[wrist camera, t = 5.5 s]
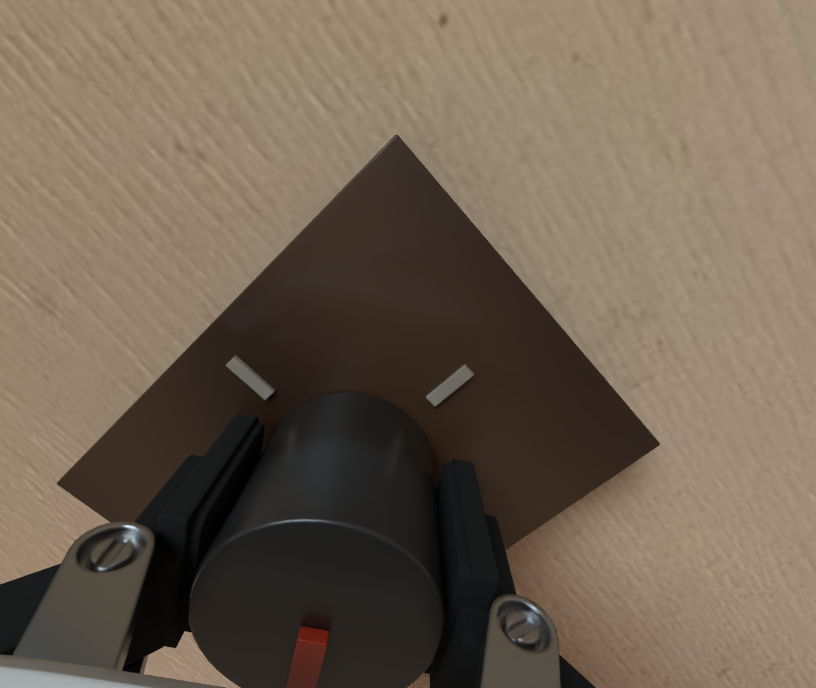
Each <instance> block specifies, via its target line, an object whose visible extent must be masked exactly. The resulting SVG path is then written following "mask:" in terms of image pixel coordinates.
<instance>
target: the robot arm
mask: <svg viewBox="0 0 816 688" xmlns="http://www.w3.org/2000/svg"><path fill="white" fill-rule="evenodd" d="M264 429H265V425H264V424H261V423H259V418H258V417H254V416H249V415H244V414H240V413H237V414H236V415H235V416H234V417H233V419H232V420H231V421H230V423H229V424H228V425H227V426H226V428H225V429H224V430H223V432H222V433H221V434H220V436H219V437H218V438H217V439H216V441H215V442H214V443H213V445H212V446H211V447H210V448H209V450H208V451H207V452H206V454H205V455H204V456H203V457H201V456H196V455H190V456H189V457H187V458H186V459H185V461H184V462H183V463H182V464H181V465H180V467H179V468H178V469H177V470H176V472H175V473H174V474H173V475H172V476H171V478H170V479H169V480H168V481H167V482H166V484H165V485H164V486H163V487H162V488H161V490H160V491H159V492H158V493H157V494H156V496H155V497H154V498H153V499H152V500H151V502H150V503H149V504H148V505H147V506H146V508H145V509H144V510H143V511H142V513H141V514H140V515H139V516H138V517H137V519H136V520H135V521H134V522H128V521H120V522H111V523H107V524H104V525H101V526H97V527H95V528H93V529H91V530H89V531H87V532H86V533H84V534H83V535H82V536H80V537H79V538H78V539H77V540H75V542H74V543H73V544H72V546H71V547H70V548H69V550H68V552H67V554H66V555H65V557H64V559H63V561H62V563H61V564H58V565H55V566H53V567H50V568H47V569H44V570H41V571H38V572H35V573H32V574H29V575H27V576H24V577H21V578H18V579H15V580H12V581H9V582H6V583H3V584H0V688H225V687H219V686H213V685H206V684H200V683H194V682H188V681H182V680H175V679H169V678H163V677H157V676H150V675H144V670H145V666H146V662H147V658H148V655H149V654H151V653H153V652H154V651H156V650H158V649H160V648H162V647H164V646H167V647H172V648H176V647H177V645H178V643H179V641H180V639H181V637H182V635H183V633H184V631H187V632H192V631H191V628H190V625H189V620H188V613H187V607H188V593H189V589H190V584H191V582H192V579H193V577H194V574H195V572H196V570H197V568H198V566H199V565H200V563H201V561H202V559H203V558H204V556H205V554H206V552H207V550H208V549H209V547H210V545H211V543H212V542H213V540H214V538H215V536H216V534H217V533H218V531H219V529H220V527H221V526H222V524H223V522H224V520H225V518H226V517H227V515H228V513H229V511H230V510H231V508H232V506H233V504H234V502H235V501H236V499H237V497H238V495H239V493H240V492H241V490H242V488H243V486H244V485H245V483H246V481H247V479H248V477H249V476H250V474H251V472H252V470H253V469H254V467H255V465H256V463H257V461H258V460H259V458H260V456H261V450H262V443H263V436H264ZM436 503H437V515H438V528H439V541H440V554H441V567H442V580H443V593H444V605H445V619H446V622H445V631H444V636H443V639H442V643H441V646H440V648H439V650H438V652H437V654H436V656H435V658H434V660H433V661H432V663H431V664H430V666H429V667H428V668H427V670H426V671H425V672H424V673H427V674H430V688H595V687H594V686H593V685H592V684H591V683H590V682H589V681H588V680H587V679H586V678H584V677H583V676H582V675H581V674H580V673H579V672H578V671H577V670H576V669H575V668H574V667H573V666H571V665H570V664H569V663H568V662H567V661H566V660H565V659H564V658H563V657H562V656H561V655H559V641H558V635H557V630H556V628H555V626H554V624H553V622H552V620H551V618H550V617H549V616H548V615H547V613H546V612H545V611H544V610H543V609H542V608H541V607H540V606H538V605H537V604H536V603H535V602H533V601H531V600H529V599H527V598H526V597H523V596H519V595H516V591H515V587H514V583H513V579H512V575H511V571H510V568H509V564H508V560H507V556H506V552H505V548H504V544H503V540H502V536H501V532H500V528H499V524H498V521H497V518H496V517H495V516H494V515H489V514H485V512H484V507H483V503H482V498H481V494H480V489H479V485H478V480H477V476H476V471H475V467H474V463H473V462H469V461H464V460H459V459H453V460H452V461H451V463H448V462H445V464H444V466H443V469H442V472H441V475H440V479H439V482H438V485H437V488H436Z"/></svg>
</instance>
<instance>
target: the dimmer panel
mask: <svg viewBox="0 0 816 688" xmlns="http://www.w3.org/2000/svg"><path fill="white" fill-rule="evenodd" d="M342 392H351V393H361V394H367V395H371V396H375V397H378V398H381V399H383V400H385V401H388V402H390V403H392V404H393V405H395V406H397V407H399V408H400V409H401V410H403V411H404V412H405V413H407V414H408V415H409V416H410V417H411V418H412V419H413V420H414V421H415V422H416V423H417V424H418V426H419V427H420V428H421V429H422V431H423V433H424V434H425V436H426V438H427V440H428V442H429V445H430V447H431V451H432V455H433V464H434V477H435V490H436V488H437V485H438V482H439V479H440V475H441V472H442V469H443V466H444V464H445V462H448V463H451V461H452V460H453V459H459V460H464V461H469V462H473V463H474V467H475V471H476V476H477V480H478V485H479V489H480V494H481V498H482V503H483V507H484V512H485V514H489V515H494V516H495V517H496V518H497V521H498V524H499V528H500V532H501V536H502V540H503V544H504V548H505V550H506V549H507V548H509V547H510V546H512V545H513V544H514V543H516V542H517V541H519V540H520V539H522V538H523V537H525V536H526V535H528V534H529V533H531V532H532V531H534V530H535V529H537V528H538V527H540V526H541V525H542V524H544V523H545V522H547V521H548V520H550V519H551V518H553V517H554V516H556V515H557V514H559V513H560V512H562V511H563V510H565V509H566V508H568V507H569V506H570V505H572V504H573V503H575V502H576V501H578V500H579V499H581V498H582V497H584V496H585V495H587V494H588V493H590V492H591V491H593V490H594V489H596V488H597V487H598V486H600V485H601V484H603V483H604V482H606V481H607V480H609V479H610V478H612V477H613V476H615V475H616V474H618V473H619V472H621V471H622V470H624V469H625V468H626V467H628V466H629V465H631V464H632V463H634V462H635V461H637V460H638V459H640V458H641V457H643V456H644V455H646V454H647V453H649V452H650V451H652V450H653V449H655V448H656V447H657V446H659V445H660V443H659V442H658V441H657V439H656V438H655V437H654V436H653V435H652V433H651V432H650V431H649V430H648V429H647V428H646V426H645V425H644V424H643V423H642V422H641V421H640V419H639V418H638V417H637V416H636V415H635V413H634V412H633V411H632V410H631V409H630V408H629V406H628V405H627V404H626V403H625V402H624V401H623V399H622V398H621V397H620V396H619V395H618V393H617V392H616V391H615V390H614V389H613V388H612V386H611V385H610V384H609V383H608V382H607V381H606V379H605V378H604V377H603V376H602V375H601V373H600V372H599V371H598V370H597V369H596V368H595V366H594V365H593V364H592V363H591V362H590V361H589V359H588V358H587V357H586V356H585V355H584V353H583V352H582V351H581V350H580V349H579V348H578V346H577V345H576V344H575V343H574V342H573V341H572V339H571V338H570V337H569V336H568V335H567V333H566V332H565V331H564V330H563V329H562V328H561V326H560V325H559V324H558V323H557V322H556V321H555V319H554V318H553V317H552V316H551V315H550V313H549V312H548V311H547V310H546V309H545V308H544V306H543V305H542V304H541V303H540V302H539V301H538V299H537V298H536V297H535V296H534V295H533V293H532V292H531V291H530V290H529V289H528V288H527V286H526V285H525V284H524V283H523V282H522V281H521V279H520V278H519V277H518V276H517V275H516V273H515V272H514V271H513V270H512V269H511V268H510V266H509V265H508V264H507V263H506V262H505V261H504V259H503V258H502V257H501V256H500V255H499V253H498V252H497V251H496V250H495V249H494V248H493V246H492V245H491V244H490V243H489V242H488V241H487V239H486V238H485V237H484V236H483V235H482V233H481V232H480V231H479V230H478V229H477V228H476V226H475V225H474V224H473V223H472V222H471V221H470V219H469V218H468V217H467V216H466V215H465V213H464V212H463V211H462V210H461V209H460V208H459V206H458V205H457V204H456V203H455V202H454V201H453V199H452V198H451V197H450V196H449V195H448V193H447V192H446V191H445V190H444V189H443V188H442V186H441V185H440V184H439V183H438V182H437V181H436V179H435V178H434V177H433V176H432V175H431V173H430V172H429V171H428V170H427V169H426V168H425V166H424V165H423V164H422V163H421V162H420V161H419V159H418V158H417V157H416V156H415V155H414V153H413V152H412V151H411V150H410V149H409V148H408V146H407V145H406V144H405V143H404V142H403V141H402V139H401V138H400V137H399V136H398V135H395V136H394V137H393V138H392V139H391V140H390V141H389V142H388V143H387V144H386V145H385V146H384V147H383V148H382V149H381V150H380V151H379V152H378V153H377V154H376V155H375V156H374V157H373V158H372V160H371V161H370V162H369V163H368V164H367V165H366V166H365V167H364V168H363V169H362V170H361V171H360V172H359V173H358V174H357V175H356V176H355V177H354V178H353V179H352V180H351V181H350V182H349V183H348V184H347V185H346V186H345V187H344V188H343V189H342V190H341V191H340V192H339V193H338V194H337V195H336V197H335V198H334V199H333V200H332V201H331V202H330V203H329V204H328V205H327V206H326V207H325V208H324V209H323V210H322V211H321V212H320V213H319V214H318V215H317V216H316V217H315V218H314V219H313V220H312V221H311V222H310V223H309V224H308V225H307V226H306V227H305V228H304V229H303V230H302V231H301V232H300V233H299V235H298V236H297V237H296V238H295V239H294V240H293V241H292V242H291V243H290V244H289V245H288V246H287V247H286V248H285V249H284V250H283V251H282V252H281V253H280V254H279V255H278V256H277V257H276V258H275V259H274V260H273V261H272V262H271V263H270V264H269V265H268V266H267V267H266V268H265V269H264V270H263V272H262V273H261V274H260V275H259V276H258V277H257V278H256V279H255V280H254V281H253V282H252V283H251V284H250V285H249V286H248V287H247V288H246V289H245V290H244V291H243V292H242V293H241V294H240V295H239V296H238V297H237V298H236V299H235V300H234V301H233V302H232V303H231V304H230V305H229V306H228V307H227V308H226V310H225V311H224V312H223V313H222V314H221V315H220V316H219V317H218V318H217V319H216V320H215V321H214V322H213V323H212V324H211V325H210V326H209V327H208V328H207V329H206V330H205V331H204V332H203V333H202V334H201V335H200V336H199V337H198V338H197V339H196V340H195V341H194V342H193V343H192V344H191V345H190V347H189V348H188V349H187V350H186V351H185V352H184V353H183V354H182V355H181V356H180V357H179V358H178V359H177V360H176V361H175V362H174V363H173V364H172V365H171V366H170V367H169V368H168V369H167V370H166V371H165V372H164V373H163V374H162V375H161V376H160V377H159V378H158V379H157V380H156V381H155V382H154V383H153V385H152V386H151V387H150V388H149V389H148V390H147V391H146V392H145V393H144V394H143V395H142V396H141V397H140V398H139V399H138V400H137V401H136V402H135V403H134V404H133V405H132V406H131V407H130V408H129V409H128V410H127V411H126V412H125V413H124V414H123V415H122V416H121V417H120V418H119V419H118V420H117V422H116V423H115V424H114V425H113V426H112V427H111V428H110V429H109V430H108V431H107V432H106V433H105V434H104V435H103V436H102V437H101V438H100V439H99V440H98V441H97V442H96V443H95V444H94V445H93V446H92V447H91V448H90V449H89V450H88V451H87V452H86V453H85V454H84V455H83V456H82V457H81V458H80V460H79V461H78V462H77V463H76V464H75V465H74V466H73V467H72V468H71V469H70V470H69V471H68V472H67V473H66V474H65V475H64V476H63V477H62V478H61V479H60V480H59V481H58V482H57V484H58V485H59V486H60V487H62V488H63V489H65V490H66V491H67V492H69V493H70V494H72V495H73V496H74V497H76V498H77V499H79V500H80V501H81V502H83V503H84V504H86V505H87V506H88V507H90V508H91V509H93V510H94V511H95V512H97V513H98V514H100V515H101V516H102V517H104V518H105V519H107V520H108V521H109V522H120V521H128V522H134V521H135V520H136V519H137V517H138V516H139V515H140V514H141V513H142V511H143V510H144V509H145V508H146V506H147V505H148V504H149V503H150V502H151V500H152V499H153V498H154V497H155V496H156V494H157V493H158V492H159V491H160V490H161V488H162V487H163V486H164V485H165V484H166V482H167V481H168V480H169V479H170V478H171V476H172V475H173V474H174V473H175V472H176V470H177V469H178V468H179V467H180V465H181V464H182V463H183V462H184V461H185V459H186V458H187V457H189V456H190V455H196V456H201V457H203V456H204V455H205V454H206V452H207V451H208V450H209V448H210V447H211V446H212V445H213V443H214V442H215V441H216V439H217V438H218V437H219V436H220V434H221V433H222V432H223V430H224V429H225V428H226V426H227V425H228V424H229V423H230V421H231V420H232V419H233V417H234V416H235V415H236V414H237V413H240V414H244V415H249V416H254V417H258V418H259V423H261V424H264V425H265V429H264V436H263V443H262V450H261V454H262V453H263V451H264V449H265V447H266V445H267V444H268V442H269V440H270V438H271V437H272V435H273V433H274V431H275V430H276V428H277V426H278V425H279V423H280V422H281V421H282V420H283V419H284V418H285V416H286V415H288V414H289V413H290V412H291V411H292V410H293V409H295V408H296V407H298V406H299V405H301V404H302V403H304V402H307V401H309V400H311V399H313V398H316V397H319V396H322V395H327V394H332V393H342Z"/></svg>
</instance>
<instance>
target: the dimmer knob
mask: <svg viewBox="0 0 816 688" xmlns="http://www.w3.org/2000/svg"><path fill="white" fill-rule="evenodd" d="M187 613H188V620H189V625H190V628H191V631H192V634H193V637H194V639H195V641H196V643H197V645H198V647H199V649H200V650H201V651H202V653H203V654H204V656H205V657H206V658H207V660H208V661H209V662H210V663H211V664H212V665H213V666H214V667H215V668H216V669H217V670H218V671H219V672H220V673H221V674H223V675H224V676H225V677H226V678H227V679H229V680H230V681H232V682H233V683H235V684H236V685H238V686H239V687H241V688H406V687H408V686H409V685H410V684H412V683H413V682H414V681H415V680H417V679H418V678H419V677H420V676H421V675H422V674H423V673H424V672H425V671H426V670H427V668H428V667H429V666H430V664H431V663H432V661H433V660H434V658H435V656H436V654H437V652H438V650H439V648H440V646H441V643H442V639H443V636H444V631H445V622H446V619H445V605H444V593H443V580H442V567H441V554H440V541H439V528H438V515H437V503H436V490H435V477H434V464H433V455H432V451H431V447H430V445H429V442H428V440H427V438H426V436H425V434H424V433H423V431H422V429H421V428H420V427H419V426H418V424H417V423H416V422H415V421H414V420H413V419H412V418H411V417H410V416H409V415H408V414H407V413H405V412H404V411H403V410H401V409H400V408H399V407H397V406H395V405H393V404H392V403H390V402H388V401H385V400H383V399H381V398H378V397H375V396H371V395H367V394H361V393H351V392H342V393H332V394H327V395H322V396H319V397H316V398H313V399H311V400H309V401H307V402H304V403H302V404H301V405H299V406H298V407H296V408H295V409H293V410H292V411H291V412H290V413H289V414H288V415H286V416H285V418H284V419H283V420H282V421H281V422H280V423H279V425H278V426H277V428H276V430H275V431H274V433H273V435H272V437H271V438H270V440H269V442H268V444H267V445H266V447H265V449H264V451H263V453H262V454H261V456H260V458H259V460H258V461H257V463H256V465H255V467H254V469H253V470H252V472H251V474H250V476H249V477H248V479H247V481H246V483H245V485H244V486H243V488H242V490H241V492H240V493H239V495H238V497H237V499H236V501H235V502H234V504H233V506H232V508H231V510H230V511H229V513H228V515H227V517H226V518H225V520H224V522H223V524H222V526H221V527H220V529H219V531H218V533H217V534H216V536H215V538H214V540H213V542H212V543H211V545H210V547H209V549H208V550H207V552H206V554H205V556H204V558H203V559H202V561H201V563H200V565H199V566H198V568H197V570H196V572H195V574H194V577H193V579H192V582H191V584H190V589H189V593H188V607H187Z"/></svg>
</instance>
